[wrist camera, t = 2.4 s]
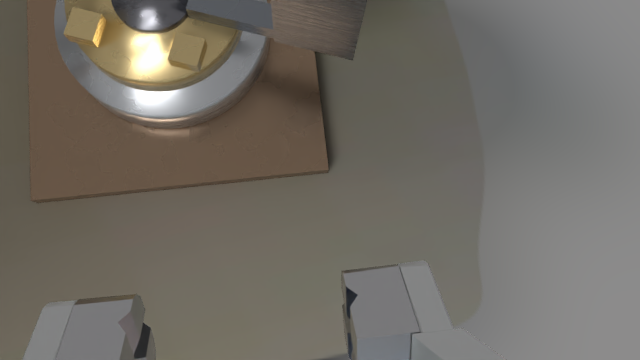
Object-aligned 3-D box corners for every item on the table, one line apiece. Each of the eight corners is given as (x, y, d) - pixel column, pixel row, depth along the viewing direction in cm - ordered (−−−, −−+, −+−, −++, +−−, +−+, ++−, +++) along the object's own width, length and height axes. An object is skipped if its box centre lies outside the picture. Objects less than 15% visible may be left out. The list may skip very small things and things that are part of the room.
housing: (37, 202, 40) (7, 191, 36) (32, -36, 43) (4, -71, 39) (327, 172, 41) (331, 158, 37) (300, -57, 44) (300, -93, 40)
